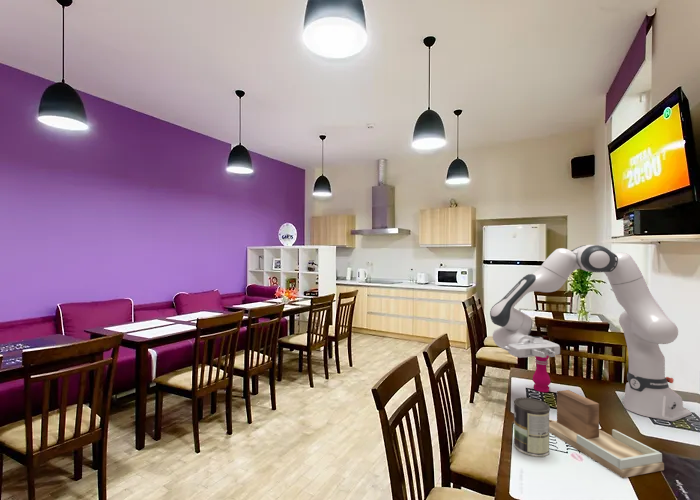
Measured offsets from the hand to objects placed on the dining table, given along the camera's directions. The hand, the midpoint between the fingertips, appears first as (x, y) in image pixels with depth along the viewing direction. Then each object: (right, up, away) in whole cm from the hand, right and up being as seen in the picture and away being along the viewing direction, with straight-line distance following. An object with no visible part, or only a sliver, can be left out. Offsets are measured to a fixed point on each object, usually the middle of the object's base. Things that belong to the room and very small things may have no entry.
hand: (549, 355), depth 134 cm
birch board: (+5, -24, -19) cm, 31 cm away
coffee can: (-17, -24, -20) cm, 35 cm away
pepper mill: (+12, -24, +29) cm, 40 cm away
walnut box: (+3, -22, -12) cm, 25 cm away
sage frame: (+6, -22, -25) cm, 34 cm away
